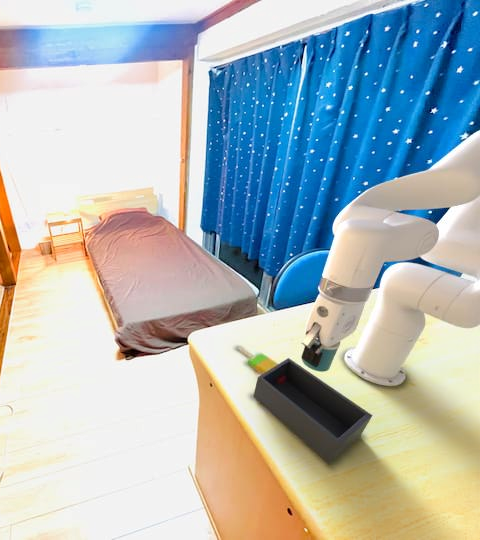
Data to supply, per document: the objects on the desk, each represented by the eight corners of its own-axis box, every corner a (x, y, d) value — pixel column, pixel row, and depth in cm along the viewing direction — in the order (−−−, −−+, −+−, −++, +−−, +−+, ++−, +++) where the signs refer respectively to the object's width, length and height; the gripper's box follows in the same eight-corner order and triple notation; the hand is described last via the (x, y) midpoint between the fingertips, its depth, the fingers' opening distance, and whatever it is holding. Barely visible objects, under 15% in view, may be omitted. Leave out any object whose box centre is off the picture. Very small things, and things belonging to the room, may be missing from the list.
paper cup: (310, 349, 64) (319, 326, 61) (335, 365, 60) (346, 341, 56) (295, 359, 62) (303, 335, 59) (320, 376, 58) (330, 351, 54)
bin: (282, 377, 76) (288, 357, 73) (360, 436, 61) (372, 415, 58) (253, 396, 72) (257, 376, 68) (329, 465, 57) (340, 444, 53)
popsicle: (232, 355, 86) (278, 388, 75) (231, 349, 85) (277, 382, 73) (244, 345, 88) (291, 375, 76) (243, 339, 86) (291, 369, 74)
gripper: (338, 312, 45) (310, 386, 54) (393, 281, 51) (360, 353, 60) (294, 291, 51) (275, 361, 60) (348, 266, 57) (324, 332, 66)
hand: (318, 356), depth 60 cm, fingers closed on paper cup, 5 cm apart
